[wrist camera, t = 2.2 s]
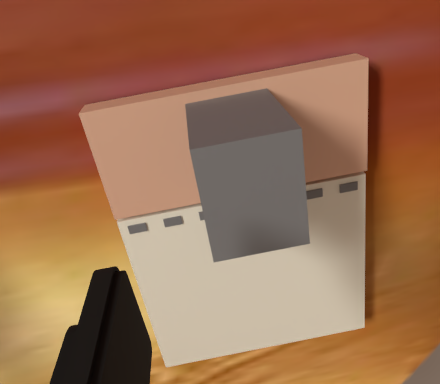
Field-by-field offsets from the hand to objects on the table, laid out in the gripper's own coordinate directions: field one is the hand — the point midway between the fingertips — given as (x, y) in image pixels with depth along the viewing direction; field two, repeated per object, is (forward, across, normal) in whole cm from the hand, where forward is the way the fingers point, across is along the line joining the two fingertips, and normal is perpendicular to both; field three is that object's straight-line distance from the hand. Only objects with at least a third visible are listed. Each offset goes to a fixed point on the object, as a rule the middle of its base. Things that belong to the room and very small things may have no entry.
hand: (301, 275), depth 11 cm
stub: (+12, +1, 0) cm, 12 cm away
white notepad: (+12, +1, +10) cm, 16 cm away
